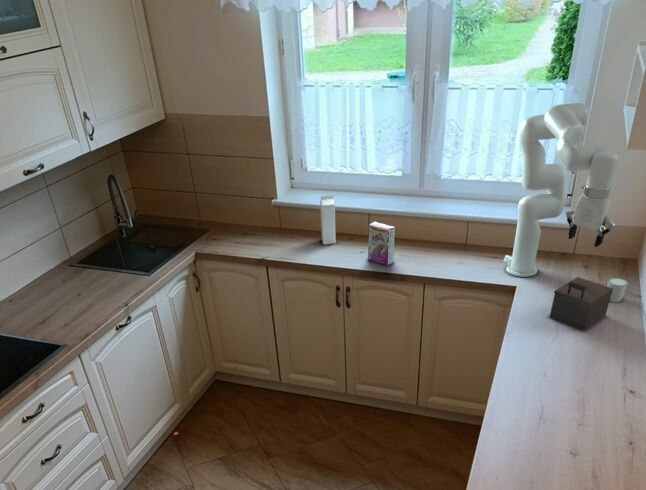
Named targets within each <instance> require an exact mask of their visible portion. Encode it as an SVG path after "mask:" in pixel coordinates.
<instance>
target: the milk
mask: <svg viewBox="0 0 646 490" xmlns="http://www.w3.org/2000/svg"><path fill="white" fill-rule="evenodd" d="M319 205H320V229H321V241H322V244H323V245H332V244H333V245H334V244H336V243H337V239H336V238H337V237H336V204H335V197H334V195H322V196H320V201H319Z"/></svg>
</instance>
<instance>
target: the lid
mask: <svg viewBox="0 0 646 490" xmlns="http://www.w3.org/2000/svg"><path fill="white" fill-rule="evenodd" d="M607 286H608V285H604V284H600V283H598V282H594V281H591V280H588V279H585V278H582V277H579V276H577V277H575V278H573V279H572V280H570V281H568V282H566V283H565V284H563V285H562V286H560V287H558V288H556V289H555V290H554V291H553V293H554V294H555V293H556V294H559V295H562V296H565V297H567V298H570V299H573V300H576V301H579V302H581V303H584V304H587V305H591V304H593V303H594V302H596V301H597V300H599V299H600V298H602V297H604V296H605V295H607V294H608V293H610V292H611V291H613V288H610V287H607Z"/></svg>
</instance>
